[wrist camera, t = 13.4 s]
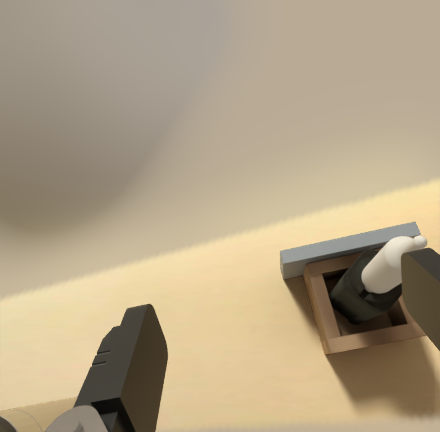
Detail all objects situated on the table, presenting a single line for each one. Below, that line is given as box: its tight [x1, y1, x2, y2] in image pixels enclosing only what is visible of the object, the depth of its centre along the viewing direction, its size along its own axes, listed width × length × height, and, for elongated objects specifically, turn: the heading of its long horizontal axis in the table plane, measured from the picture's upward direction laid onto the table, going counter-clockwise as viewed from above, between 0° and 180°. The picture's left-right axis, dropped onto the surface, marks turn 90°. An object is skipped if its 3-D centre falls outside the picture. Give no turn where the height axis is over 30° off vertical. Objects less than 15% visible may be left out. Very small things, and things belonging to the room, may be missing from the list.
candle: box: [329, 236, 427, 325], centre depth 34 cm, size 5×5×25 cm
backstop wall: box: [280, 222, 421, 280], centre depth 45 cm, size 16×2×9 cm, turn 100°
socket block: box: [303, 248, 427, 354], centre depth 43 cm, size 10×10×7 cm
